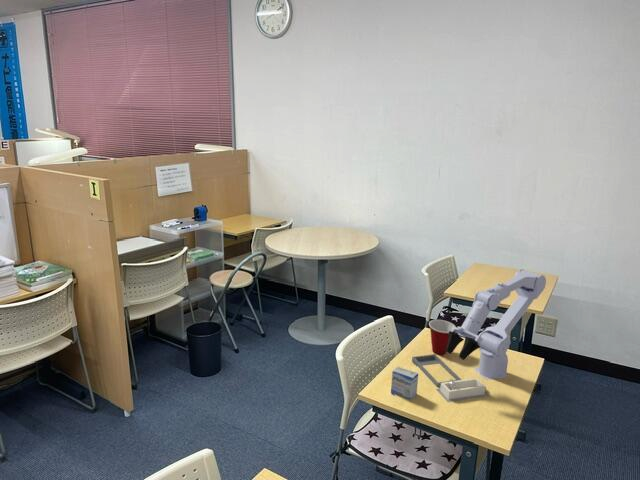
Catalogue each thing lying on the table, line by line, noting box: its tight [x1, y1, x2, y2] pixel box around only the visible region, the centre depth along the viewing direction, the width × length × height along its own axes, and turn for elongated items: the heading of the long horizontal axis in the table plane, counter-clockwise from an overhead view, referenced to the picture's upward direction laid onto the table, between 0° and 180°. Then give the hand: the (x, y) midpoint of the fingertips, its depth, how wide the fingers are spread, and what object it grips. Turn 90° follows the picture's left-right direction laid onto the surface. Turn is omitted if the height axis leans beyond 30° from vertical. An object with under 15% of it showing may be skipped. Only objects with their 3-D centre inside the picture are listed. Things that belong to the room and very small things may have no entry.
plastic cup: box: [428, 319, 456, 356], centre depth 191 cm, size 11×11×12 cm
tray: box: [411, 353, 462, 388], centre depth 176 cm, size 10×20×2 cm, turn 15°
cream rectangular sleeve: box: [439, 377, 487, 400], centre depth 162 cm, size 16×6×3 cm, turn 105°
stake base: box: [435, 378, 490, 403], centre depth 162 cm, size 16×8×6 cm, turn 105°
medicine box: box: [390, 366, 419, 400], centre depth 161 cm, size 8×4×9 cm, turn 55°
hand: (454, 355), depth 162 cm, fingers open, 7 cm apart
